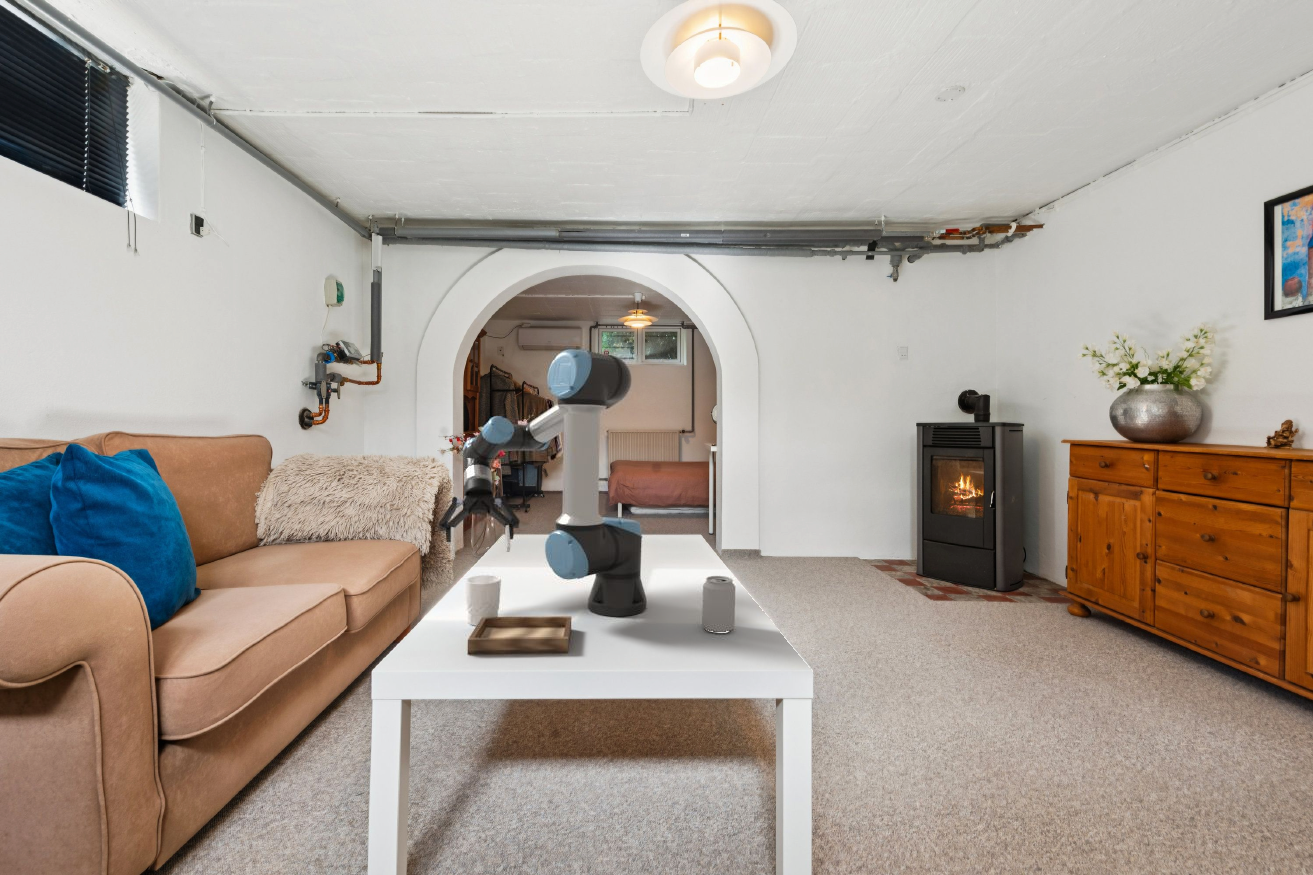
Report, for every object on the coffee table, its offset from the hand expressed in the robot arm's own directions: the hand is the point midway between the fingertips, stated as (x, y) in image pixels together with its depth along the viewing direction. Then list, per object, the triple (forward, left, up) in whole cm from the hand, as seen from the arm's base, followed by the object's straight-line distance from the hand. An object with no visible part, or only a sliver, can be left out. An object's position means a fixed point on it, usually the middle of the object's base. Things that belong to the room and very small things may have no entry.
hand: (480, 550), depth 144 cm
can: (-58, +17, -15) cm, 62 cm away
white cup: (-3, +10, -15) cm, 18 cm away
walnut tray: (-14, +23, -15) cm, 31 cm away
